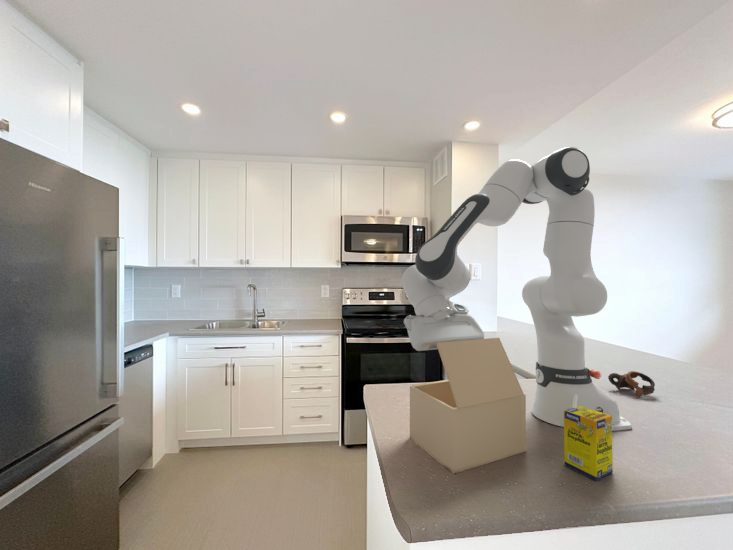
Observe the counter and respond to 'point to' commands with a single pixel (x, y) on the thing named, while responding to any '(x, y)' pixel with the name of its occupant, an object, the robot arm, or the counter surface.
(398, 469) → the counter surface
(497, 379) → the carton flap
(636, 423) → the counter surface
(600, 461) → the supplement box
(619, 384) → the brown black double loop
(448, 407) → the carton
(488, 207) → the robot arm
